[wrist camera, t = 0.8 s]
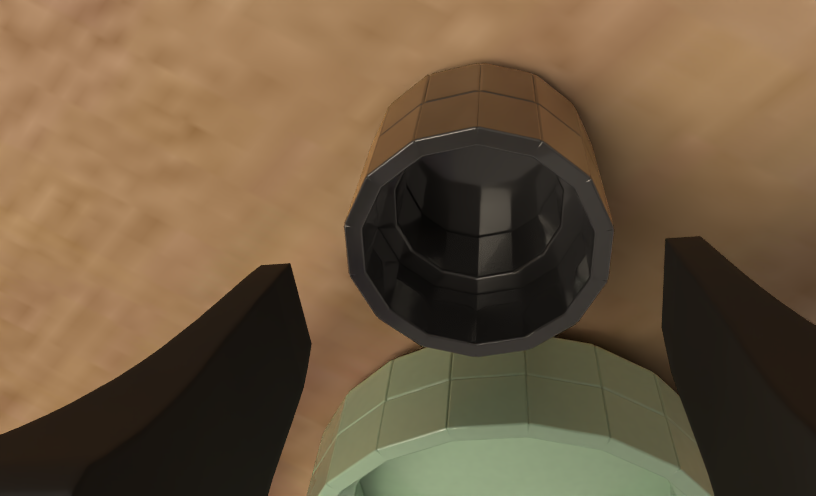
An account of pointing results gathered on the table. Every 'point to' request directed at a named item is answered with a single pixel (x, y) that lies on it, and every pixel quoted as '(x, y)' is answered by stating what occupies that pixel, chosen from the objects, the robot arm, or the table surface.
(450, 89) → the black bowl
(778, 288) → the table surface
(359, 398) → the sage bowl
